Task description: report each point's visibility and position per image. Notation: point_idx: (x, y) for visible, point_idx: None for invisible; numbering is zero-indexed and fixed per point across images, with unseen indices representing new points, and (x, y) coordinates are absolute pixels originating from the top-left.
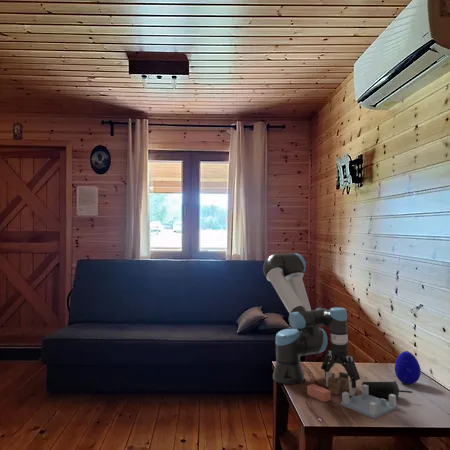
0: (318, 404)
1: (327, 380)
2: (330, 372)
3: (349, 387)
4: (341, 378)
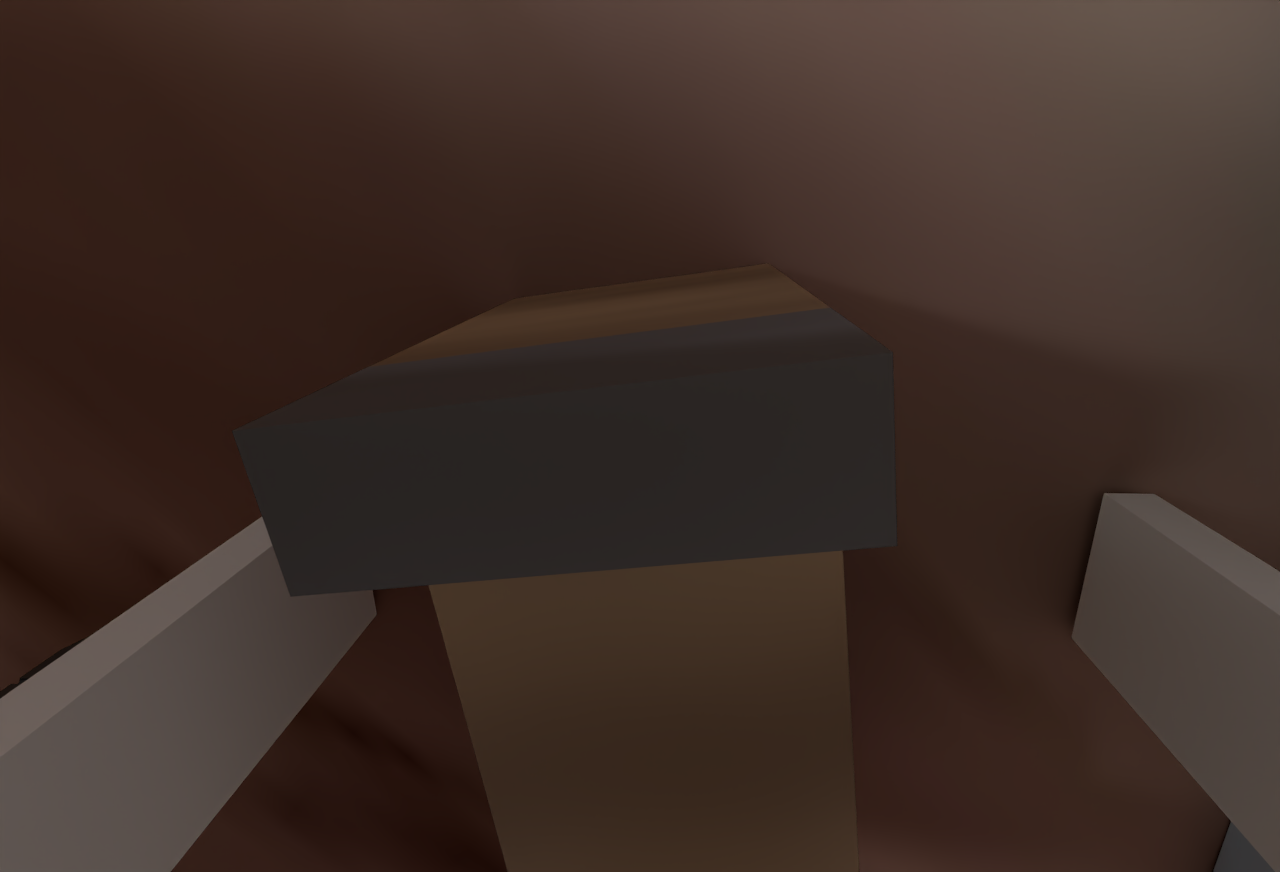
0: None
1: (283, 723)
2: (21, 793)
3: (1220, 806)
4: (649, 627)
